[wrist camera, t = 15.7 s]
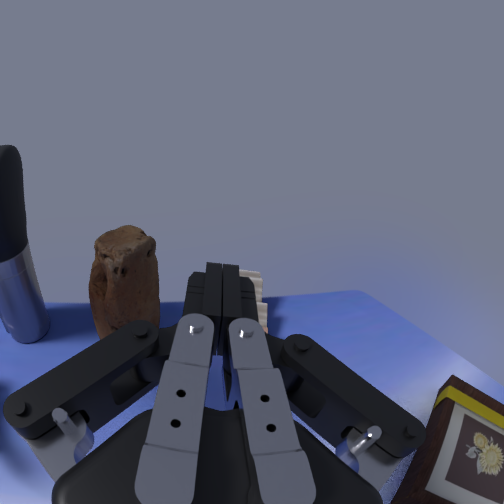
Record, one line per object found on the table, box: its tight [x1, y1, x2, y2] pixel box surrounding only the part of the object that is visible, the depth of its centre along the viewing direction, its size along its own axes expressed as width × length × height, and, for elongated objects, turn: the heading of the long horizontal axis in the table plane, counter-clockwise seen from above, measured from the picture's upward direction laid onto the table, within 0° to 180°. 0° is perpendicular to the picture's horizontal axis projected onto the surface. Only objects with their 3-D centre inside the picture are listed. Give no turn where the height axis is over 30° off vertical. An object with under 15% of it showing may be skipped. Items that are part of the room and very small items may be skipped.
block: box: [89, 225, 160, 340], centre depth 43 cm, size 11×8×20 cm
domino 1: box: [239, 270, 262, 302], centre depth 64 cm, size 2×5×10 cm
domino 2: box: [257, 302, 267, 328], centre depth 53 cm, size 2×5×10 cm
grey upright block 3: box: [243, 276, 263, 303], centre depth 58 cm, size 2×5×10 cm
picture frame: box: [391, 375, 504, 504], centre depth 28 cm, size 28×7×30 cm
